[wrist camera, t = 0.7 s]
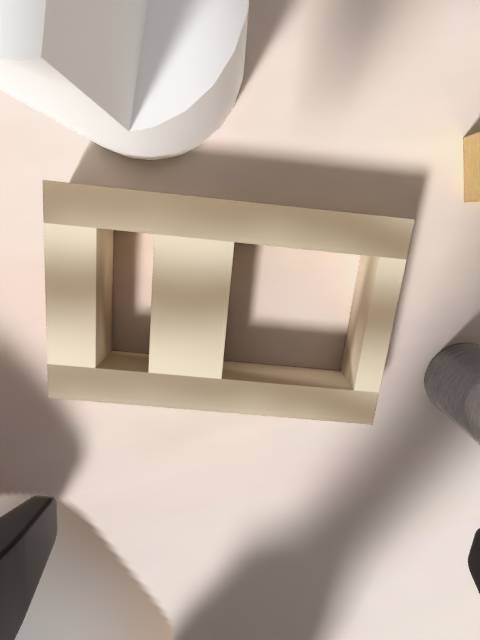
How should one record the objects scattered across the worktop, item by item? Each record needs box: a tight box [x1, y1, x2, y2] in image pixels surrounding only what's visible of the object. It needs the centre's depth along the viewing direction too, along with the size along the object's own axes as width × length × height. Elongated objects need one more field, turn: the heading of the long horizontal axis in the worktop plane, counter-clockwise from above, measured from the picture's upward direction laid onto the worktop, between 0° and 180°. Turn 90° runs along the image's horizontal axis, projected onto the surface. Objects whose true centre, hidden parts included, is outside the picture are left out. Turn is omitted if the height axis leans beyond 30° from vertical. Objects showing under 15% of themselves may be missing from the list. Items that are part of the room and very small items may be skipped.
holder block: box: [43, 180, 415, 425], centre depth 19 cm, size 10×16×2 cm, turn 84°
